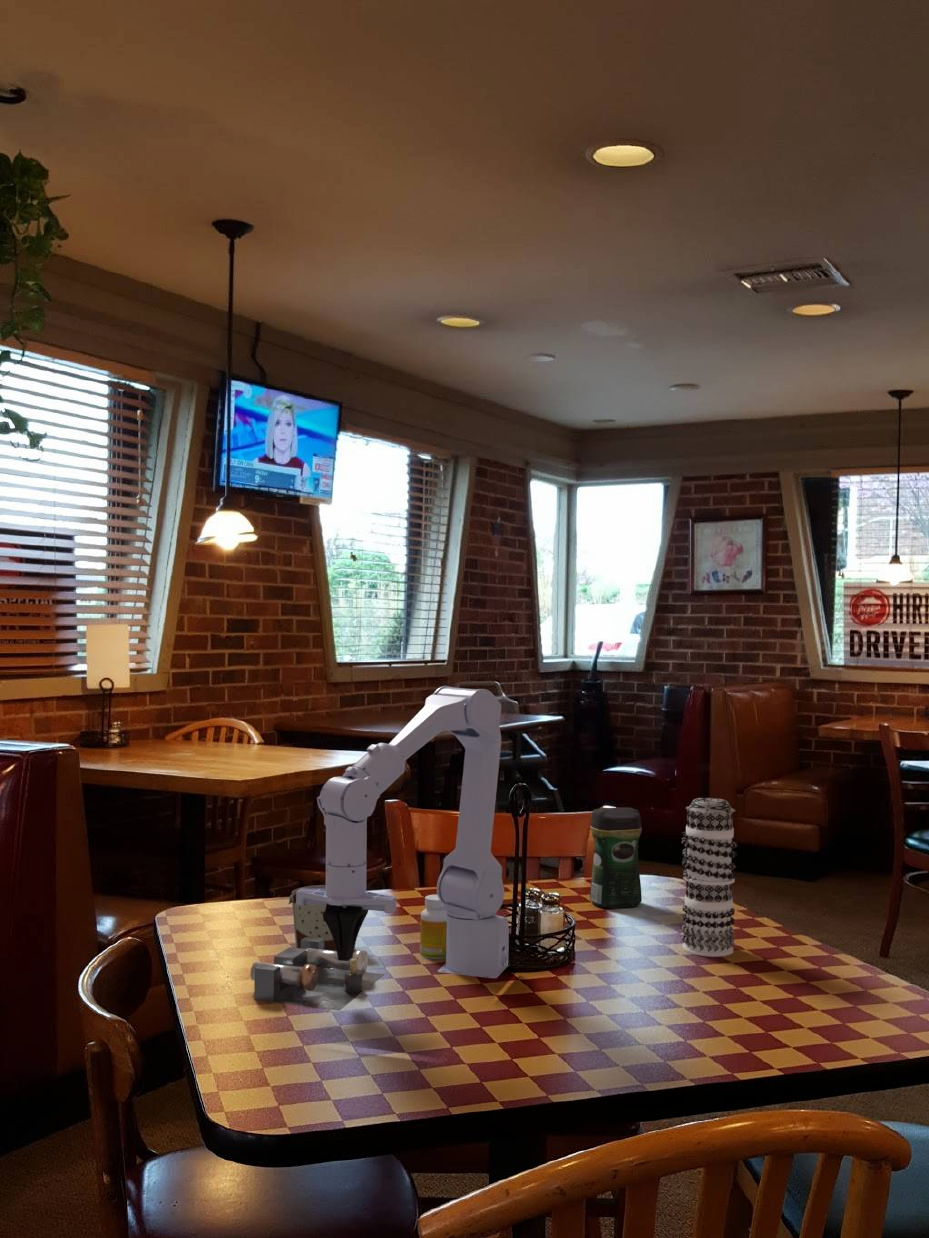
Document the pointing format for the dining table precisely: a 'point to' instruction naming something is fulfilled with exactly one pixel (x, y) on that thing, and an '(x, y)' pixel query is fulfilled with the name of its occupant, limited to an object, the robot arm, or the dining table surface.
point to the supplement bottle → (433, 929)
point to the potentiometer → (353, 978)
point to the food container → (311, 921)
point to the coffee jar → (615, 858)
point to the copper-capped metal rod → (294, 975)
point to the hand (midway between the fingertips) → (345, 958)
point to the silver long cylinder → (336, 959)
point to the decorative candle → (708, 878)
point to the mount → (323, 996)
